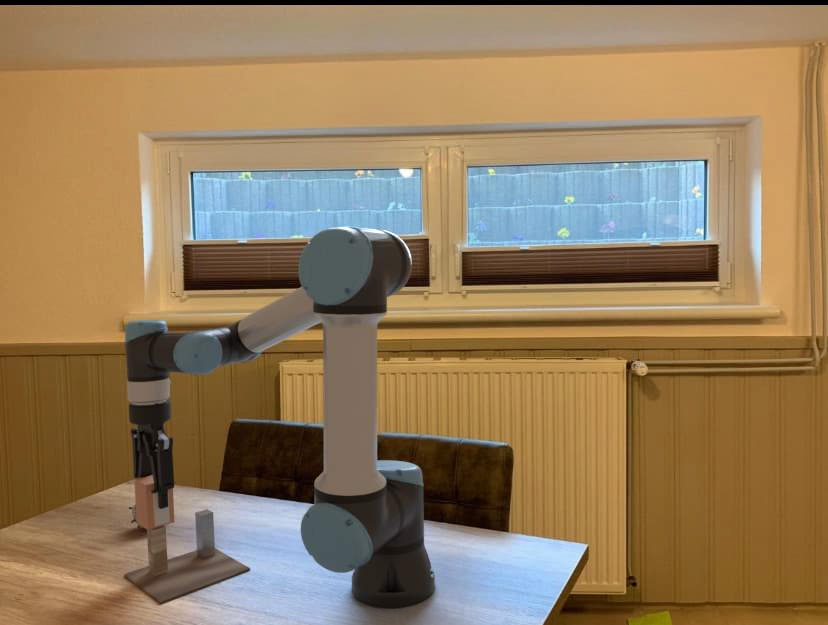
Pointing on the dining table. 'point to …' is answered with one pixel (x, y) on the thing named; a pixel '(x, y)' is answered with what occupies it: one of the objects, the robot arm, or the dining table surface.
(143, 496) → the terracotta upright block
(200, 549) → the grey post
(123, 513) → the dining table surface
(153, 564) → the birch post
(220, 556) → the board
